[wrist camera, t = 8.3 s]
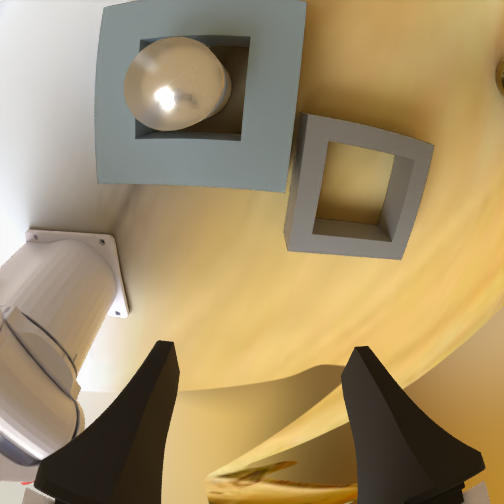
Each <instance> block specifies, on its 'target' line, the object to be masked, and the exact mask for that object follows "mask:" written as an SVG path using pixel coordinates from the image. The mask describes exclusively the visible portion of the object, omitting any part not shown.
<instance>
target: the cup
mask: <svg viewBox="0 0 504 504" xmlns="http://www.w3.org/2000/svg"><path fill="white" fill-rule="evenodd" d="M496 80H497V84H498V88H499V90H500V92H501V94H502V95H503V96H504V62H502V63H500V64H499V65H498V67H497V71H496Z"/></svg>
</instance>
